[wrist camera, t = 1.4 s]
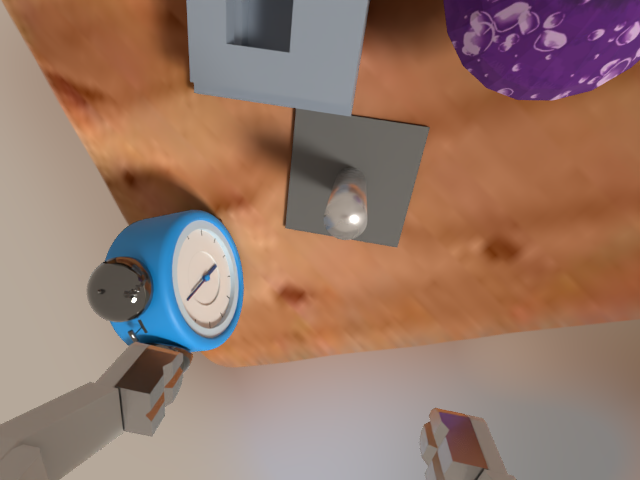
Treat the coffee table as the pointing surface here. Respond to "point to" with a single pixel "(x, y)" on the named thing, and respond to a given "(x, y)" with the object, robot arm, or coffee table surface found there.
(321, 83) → the grey block with hole
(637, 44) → the decorative mushroom
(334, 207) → the steel pin
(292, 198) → the rubber mat
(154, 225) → the alarm clock
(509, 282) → the coffee table surface
